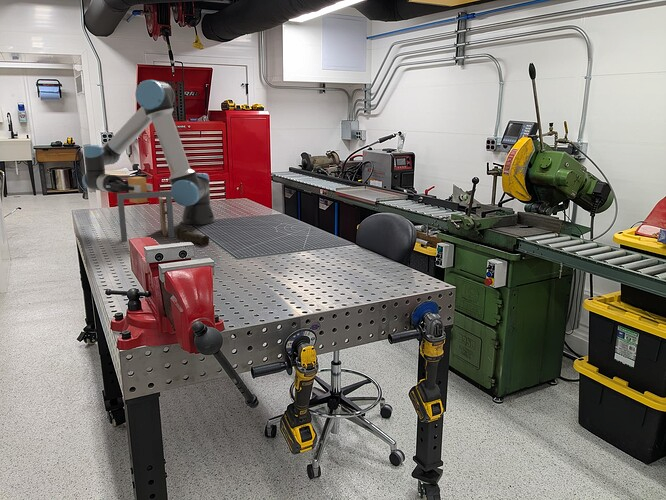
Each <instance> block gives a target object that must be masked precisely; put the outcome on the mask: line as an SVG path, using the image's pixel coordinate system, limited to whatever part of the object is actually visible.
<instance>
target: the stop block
mask: <svg viewBox="0 0 666 500" xmlns="http://www.w3.org/2000/svg"><path fill="white" fill-rule="evenodd" d="M127 181H128V186H129V185H130V184H131V185H138V186H141V192H148V191H147V187H146V184H147V177H145V176H144V177H143V176H132V177H127ZM129 193H138V192H131V191H129ZM128 200H129V202H130V203H135V204H140V203H145V202H146V203H147V202H148V198H136V199H128Z"/></svg>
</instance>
